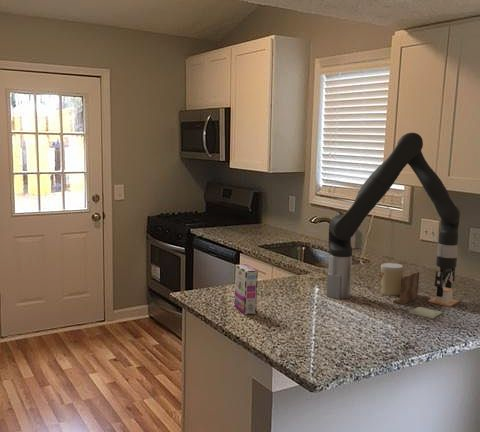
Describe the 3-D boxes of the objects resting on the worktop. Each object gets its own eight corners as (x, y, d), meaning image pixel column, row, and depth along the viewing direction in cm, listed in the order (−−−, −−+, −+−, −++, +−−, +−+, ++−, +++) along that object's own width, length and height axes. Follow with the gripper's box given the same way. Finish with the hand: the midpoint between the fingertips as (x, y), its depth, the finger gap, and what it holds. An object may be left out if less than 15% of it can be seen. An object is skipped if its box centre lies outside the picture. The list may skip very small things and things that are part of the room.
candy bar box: (257, 314, 190) (258, 270, 188) (244, 315, 188) (245, 271, 186) (246, 305, 200) (247, 263, 198) (233, 306, 199) (234, 264, 196)
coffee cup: (382, 288, 228) (384, 261, 226) (404, 292, 223) (406, 264, 221) (376, 293, 220) (377, 265, 218) (398, 297, 215) (400, 269, 213)
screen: (402, 304, 205) (404, 277, 204) (392, 302, 208) (394, 275, 206) (417, 297, 215) (419, 271, 214) (408, 295, 218) (410, 269, 217)
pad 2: (450, 306, 204) (450, 305, 204) (427, 301, 210) (427, 300, 210) (458, 302, 211) (458, 300, 211) (436, 297, 217) (436, 296, 217)
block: (446, 303, 207) (447, 291, 206) (434, 300, 210) (435, 288, 209) (451, 300, 210) (452, 288, 210) (439, 298, 214) (440, 286, 213)
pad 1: (432, 318, 190) (432, 317, 189) (409, 312, 196) (409, 311, 195) (442, 313, 196) (442, 312, 196) (419, 307, 202) (419, 306, 202)
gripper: (449, 259, 200) (446, 300, 202) (463, 254, 210) (459, 293, 213) (430, 256, 205) (427, 296, 207) (444, 251, 215) (441, 289, 218)
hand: (443, 294), depth 210 cm, fingers open, 8 cm apart
